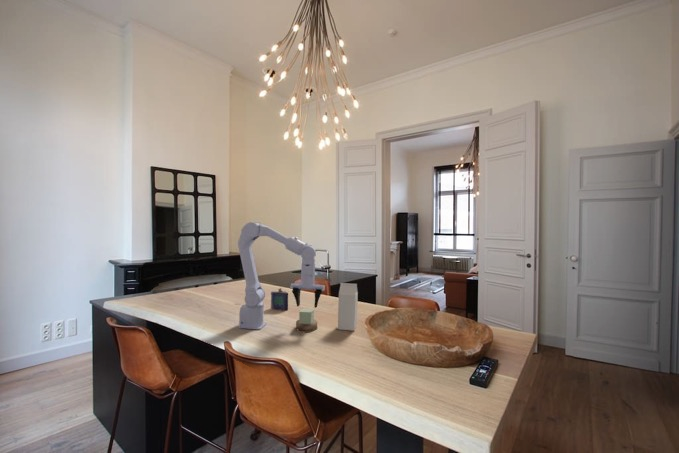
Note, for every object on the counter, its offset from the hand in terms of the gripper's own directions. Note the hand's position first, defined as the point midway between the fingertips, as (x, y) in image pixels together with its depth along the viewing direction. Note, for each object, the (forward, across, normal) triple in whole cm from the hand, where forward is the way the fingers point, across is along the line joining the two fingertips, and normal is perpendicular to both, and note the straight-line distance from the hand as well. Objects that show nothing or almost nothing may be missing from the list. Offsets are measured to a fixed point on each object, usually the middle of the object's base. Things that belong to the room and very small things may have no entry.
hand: (307, 306), depth 131 cm
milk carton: (+9, +17, +4) cm, 20 cm away
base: (+9, 0, 0) cm, 9 cm away
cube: (+7, 0, 0) cm, 7 cm away
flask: (+9, -20, +24) cm, 33 cm away
